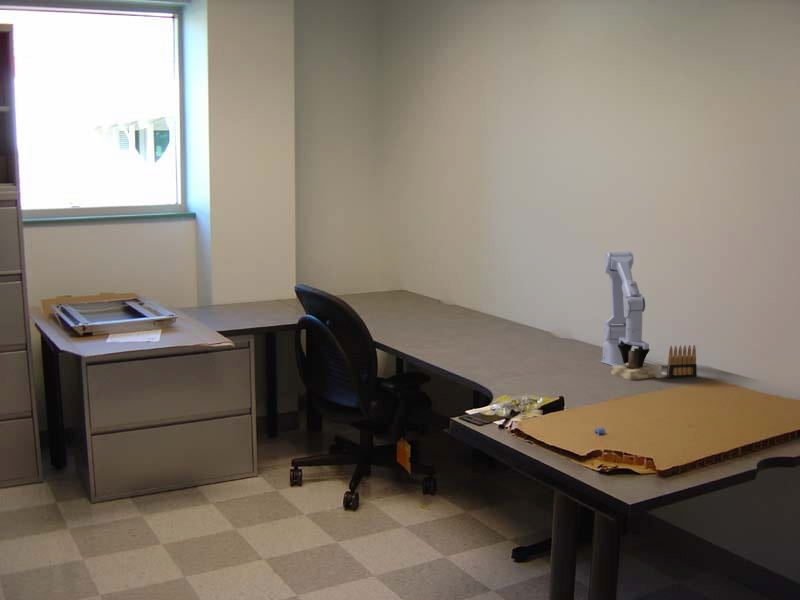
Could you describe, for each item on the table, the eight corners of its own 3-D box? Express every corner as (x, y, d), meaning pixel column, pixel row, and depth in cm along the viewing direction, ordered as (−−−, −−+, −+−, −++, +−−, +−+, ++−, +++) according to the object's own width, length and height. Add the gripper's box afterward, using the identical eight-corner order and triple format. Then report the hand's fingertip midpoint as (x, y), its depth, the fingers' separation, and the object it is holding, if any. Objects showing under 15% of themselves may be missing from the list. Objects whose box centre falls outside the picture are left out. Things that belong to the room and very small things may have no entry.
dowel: (626, 374, 318) (627, 351, 317) (633, 374, 319) (633, 350, 318) (631, 376, 315) (631, 352, 314) (638, 375, 316) (638, 352, 315)
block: (611, 373, 320) (611, 366, 319) (634, 370, 324) (635, 363, 324) (630, 380, 310) (630, 372, 310) (654, 376, 314) (654, 368, 314)
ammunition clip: (668, 378, 312) (669, 346, 310) (666, 377, 314) (667, 345, 312) (696, 377, 313) (697, 345, 311) (694, 376, 315) (695, 344, 313)
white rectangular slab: (626, 368, 329) (626, 356, 328) (637, 366, 331) (637, 355, 331) (658, 378, 313) (658, 365, 312) (670, 376, 315) (670, 364, 314)
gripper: (612, 326, 320) (611, 362, 322) (638, 332, 307) (637, 370, 309) (627, 325, 323) (626, 360, 325) (653, 331, 309) (652, 368, 311)
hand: (632, 365), depth 317 cm, fingers open, 7 cm apart
